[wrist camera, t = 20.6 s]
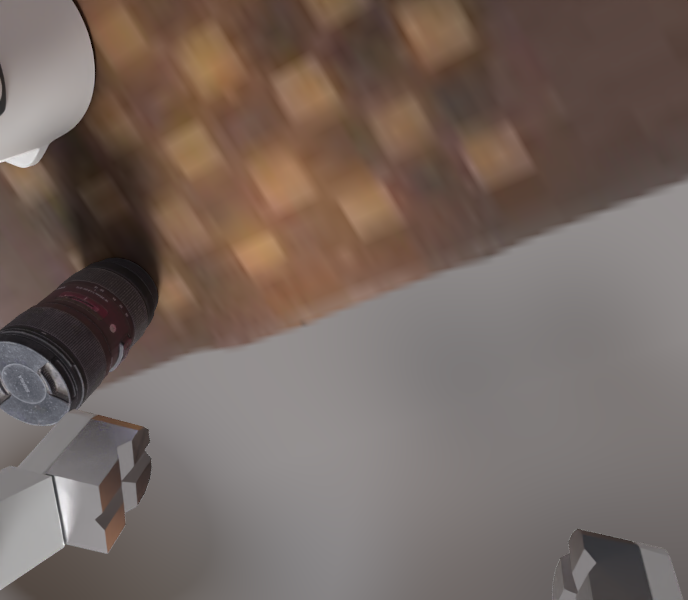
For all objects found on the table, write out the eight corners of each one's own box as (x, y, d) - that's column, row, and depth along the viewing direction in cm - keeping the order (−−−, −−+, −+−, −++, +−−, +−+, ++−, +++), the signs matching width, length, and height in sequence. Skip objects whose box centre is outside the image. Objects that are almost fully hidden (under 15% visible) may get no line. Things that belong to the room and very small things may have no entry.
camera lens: (142, 240, 54) (36, 332, 42) (179, 317, 58) (93, 423, 45) (69, 258, 57) (-51, 349, 44) (109, 330, 60) (9, 434, 48)
